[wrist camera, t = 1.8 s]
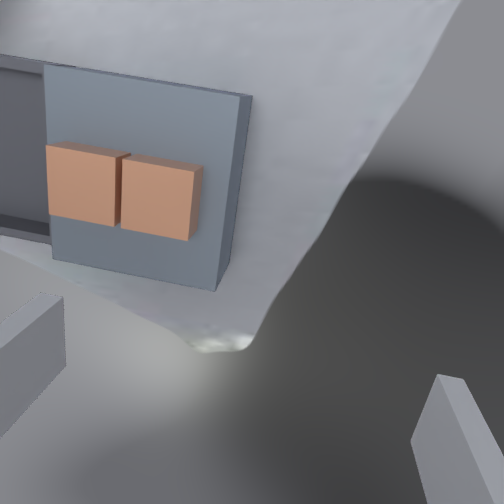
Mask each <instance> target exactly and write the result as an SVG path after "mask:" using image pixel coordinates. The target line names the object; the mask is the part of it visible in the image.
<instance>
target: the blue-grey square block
mask: <svg viewBox="0 0 504 504" xmlns="http://www.w3.org/2000/svg"><path fill="white" fill-rule="evenodd" d="M44 83H45V104H46V126H47V145H49V144H54V143H58V142H63V141H69V142H75V143H81V144H86V145H92V146H97V147H103V148H108V149H114V150H120V151H125V152H131V156H132V155H135V154H142V155H148V156H153V157H159V158H164V159H170V160H175V161H181V162H187V163H192V164H198V165H203V166H204V167H203V177H202V186H201V196H200V206H199V216H198V225H197V231H196V232H195V233H194V234H193V235H192V237H191V238H190V239H189V240H188V241H185V240H179V239H174V238H169V237H164V236H159V235H154V234H148V233H143V232H138V231H133V230H128V229H123V228H121V223H119V224H118V225H116V226H115V227H112V226H107V225H102V224H97V223H92V222H86V221H81V220H76V219H71V218H66V217H61V216H55V215H51V234H52V255H53V259H55V260H60V261H65V262H70V263H75V264H80V265H85V266H90V267H95V268H100V269H104V270H109V271H114V272H119V273H124V274H129V275H134V276H139V277H144V278H149V279H154V280H159V281H164V282H169V283H174V284H179V285H184V286H189V287H194V288H199V289H204V290H209V291H213V292H215V291H216V289H217V287H218V285H219V283H220V281H221V278H222V276H223V274H224V272H225V270H226V268H227V266H228V264H229V260H230V253H231V245H232V238H233V231H234V224H235V217H236V210H237V202H238V195H239V188H240V181H241V174H242V167H243V160H244V152H245V145H246V138H247V131H248V124H249V117H250V109H251V102H252V96H251V95H245V94H239V93H233V92H227V91H221V90H215V89H209V88H203V87H197V86H191V85H185V84H179V83H172V82H166V81H160V80H154V79H148V78H142V77H136V76H130V75H124V74H118V73H112V72H106V71H100V70H94V69H87V68H77V67H67V66H56V65H46V64H44Z"/></svg>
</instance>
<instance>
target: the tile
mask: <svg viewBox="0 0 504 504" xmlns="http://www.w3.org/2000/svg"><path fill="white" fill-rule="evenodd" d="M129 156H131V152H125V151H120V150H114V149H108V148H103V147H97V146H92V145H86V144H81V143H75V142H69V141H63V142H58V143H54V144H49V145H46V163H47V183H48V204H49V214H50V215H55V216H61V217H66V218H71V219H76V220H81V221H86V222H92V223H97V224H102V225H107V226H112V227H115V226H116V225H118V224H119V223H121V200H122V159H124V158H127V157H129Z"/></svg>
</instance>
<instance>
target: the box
mask: <svg viewBox="0 0 504 504" xmlns="http://www.w3.org/2000/svg"><path fill="white" fill-rule="evenodd" d="M44 64H46V65H56V66H67V67H75V66H69V65H63V64H57V63H51V62H45V61H39V60H33V59H27V58H21V57H15V56H9V55H2V54H0V235H5V236H10V237H15V238H20V239H25V240H30V241H35V242H40V243H45V244H50V245H52V234H51V215H50V214H49V204H48V183H47V163H46V145H47V126H46V104H45V83H44Z"/></svg>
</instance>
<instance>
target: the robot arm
mask: <svg viewBox="0 0 504 504" xmlns="http://www.w3.org/2000/svg"><path fill="white" fill-rule="evenodd" d="M65 366H66V353H65V329H64V304H63V297H61V296H56V295H51V294H46V293H39V294H38V295H37V296H36V297H34V298H33V299H32V300H30V301H29V302H27V303H26V304H25V305H23V306H22V307H21V308H19V309H18V310H16V311H15V312H14V313H12V314H11V315H10V316H8V317H7V318H6V319H4V320H3V321H2V322H1V323H0V438H1V437H2V436H3V435H4V434H5V433H6V432H7V431H8V430H9V428H10V427H11V426H12V425H13V424H14V423H15V422H16V421H17V420H18V419H19V417H20V416H21V415H22V414H23V413H24V412H25V411H26V410H27V409H28V407H29V406H30V405H31V404H32V403H33V402H34V401H35V400H36V399H37V397H38V396H39V395H40V394H41V393H42V392H43V391H44V390H45V389H46V387H47V386H48V385H49V384H50V383H51V382H52V381H53V380H54V378H55V377H56V376H57V375H58V374H59V373H60V372H61V371H62V370H63V369H64V367H65ZM411 445H412V448H413V452H414V456H415V459H416V463H417V466H418V470H419V474H420V477H421V481H422V485H423V488H424V492H425V495H426V499H427V503H428V504H504V456H503V455H502V453H501V451H500V449H499V447H498V445H497V443H496V441H495V439H494V437H493V435H492V434H491V431H490V430H489V428H488V426H487V424H486V422H485V420H484V418H483V416H482V415H481V412H480V410H479V408H478V406H477V405H476V403H475V401H474V399H473V397H472V395H471V393H470V391H469V389H468V387H467V386H466V383H465V381H464V380H463V379H460V378H455V377H449V376H445V375H440V374H437V376H436V379H435V381H434V384H433V386H432V389H431V391H430V394H429V397H428V399H427V401H426V404H425V406H424V409H423V411H422V414H421V416H420V419H419V421H418V424H417V426H416V429H415V431H414V434H413V436H412V439H411Z"/></svg>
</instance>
